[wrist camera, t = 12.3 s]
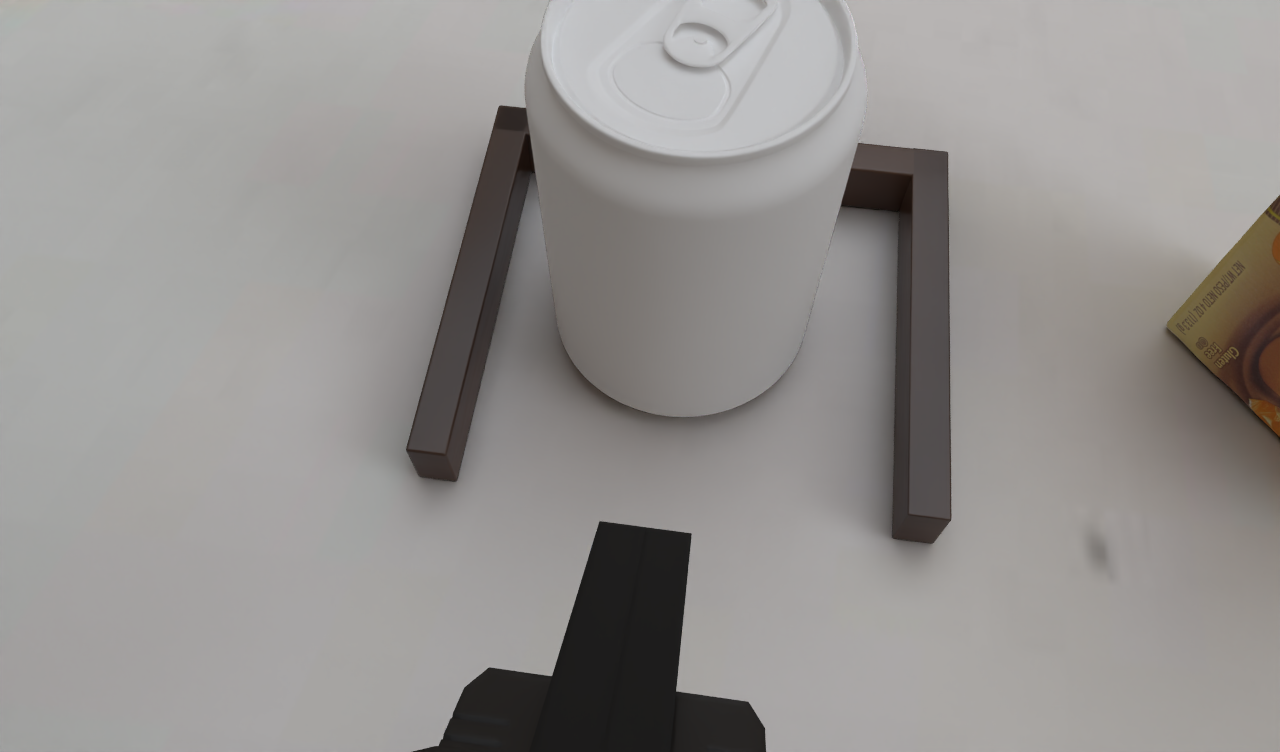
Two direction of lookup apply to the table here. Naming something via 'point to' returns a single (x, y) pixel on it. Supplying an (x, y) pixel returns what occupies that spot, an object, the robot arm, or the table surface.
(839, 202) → the beverage can
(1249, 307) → the candy box
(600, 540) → the robot arm
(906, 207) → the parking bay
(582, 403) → the table surface
